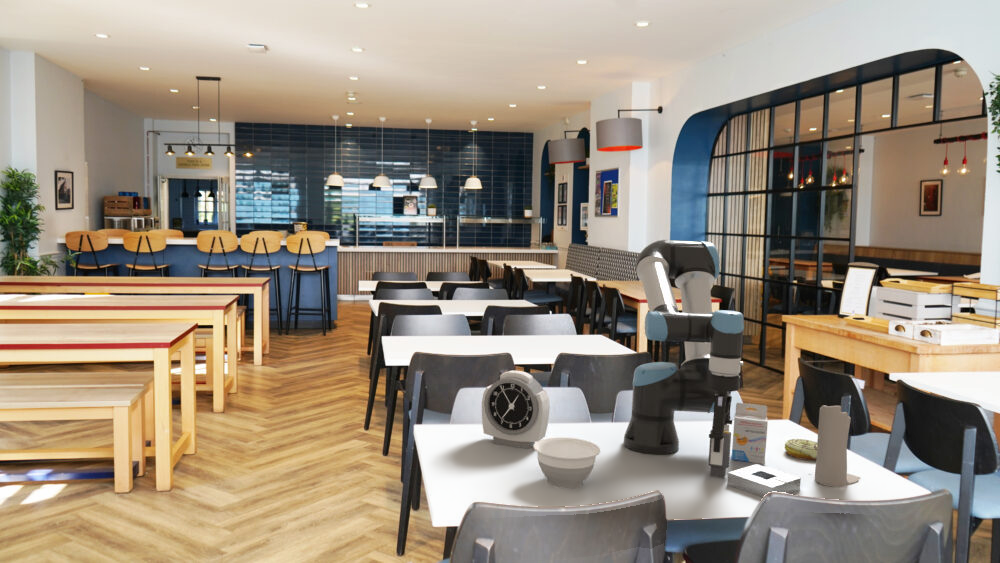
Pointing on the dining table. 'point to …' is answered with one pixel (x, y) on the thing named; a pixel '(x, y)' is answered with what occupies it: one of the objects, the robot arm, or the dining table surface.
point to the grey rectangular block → (718, 469)
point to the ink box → (750, 433)
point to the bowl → (566, 460)
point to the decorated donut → (802, 448)
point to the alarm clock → (515, 410)
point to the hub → (763, 480)
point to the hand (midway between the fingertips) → (719, 456)
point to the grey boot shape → (833, 448)
